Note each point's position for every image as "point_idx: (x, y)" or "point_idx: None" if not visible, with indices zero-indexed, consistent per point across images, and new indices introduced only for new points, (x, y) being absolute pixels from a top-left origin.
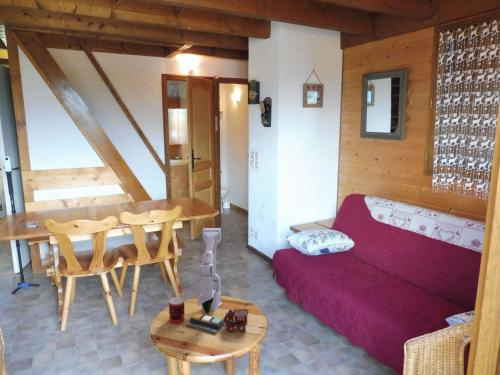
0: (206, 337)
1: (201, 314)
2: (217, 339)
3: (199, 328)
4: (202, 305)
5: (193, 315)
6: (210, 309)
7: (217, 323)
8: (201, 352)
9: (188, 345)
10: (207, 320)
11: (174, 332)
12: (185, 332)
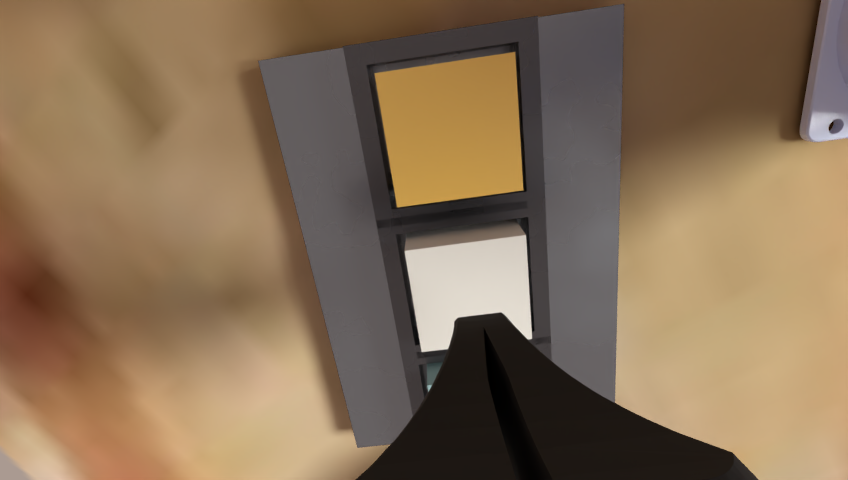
0: (263, 390)
1: (513, 168)
2: (305, 473)
3: (314, 264)
4: (411, 428)
5: (416, 68)
6: (814, 76)
7: None
8: (78, 473)
9: (45, 338)
10: (419, 339)
11: (59, 26)
12: (168, 155)
